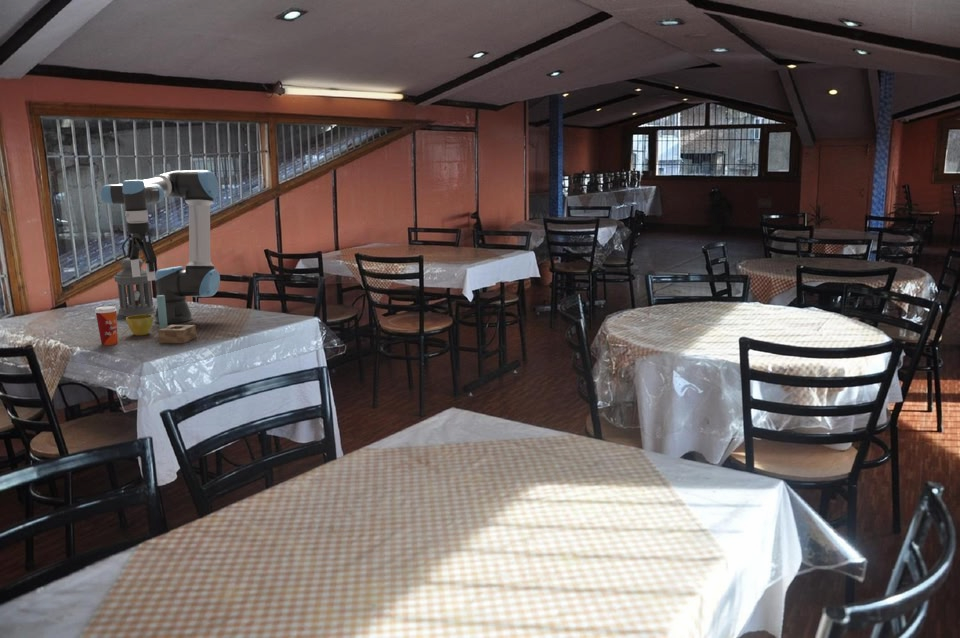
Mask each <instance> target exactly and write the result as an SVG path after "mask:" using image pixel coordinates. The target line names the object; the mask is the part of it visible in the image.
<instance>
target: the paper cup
mask: <svg viewBox="0 0 960 638" xmlns="http://www.w3.org/2000/svg"><path fill="white" fill-rule="evenodd" d="M117 311H118V309H117V308H116V306H114V305H113V306H112V305H111V306H110V305H109V306H108V305H107V306H100V307H99V306H98V307H96V308H95V311H94V313H95V316H96V321H97V327H98V332H99V338H100V342H101V345H102V346H113V345H117V344H118V343H119V341H118V319H117V318H118V317H117V315H118V314H117Z"/></svg>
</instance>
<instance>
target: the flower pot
mask: <svg viewBox="0 0 960 638" xmlns="http://www.w3.org/2000/svg"><path fill="white" fill-rule="evenodd" d="M125 321H126V323H127V325H128V328H129V330H130V331H131V332H132V334H133V335H134V336H146V335H149V333H150V331H151V329H152V325H153V322H154V315H152V314H147V315H135V316H125Z"/></svg>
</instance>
